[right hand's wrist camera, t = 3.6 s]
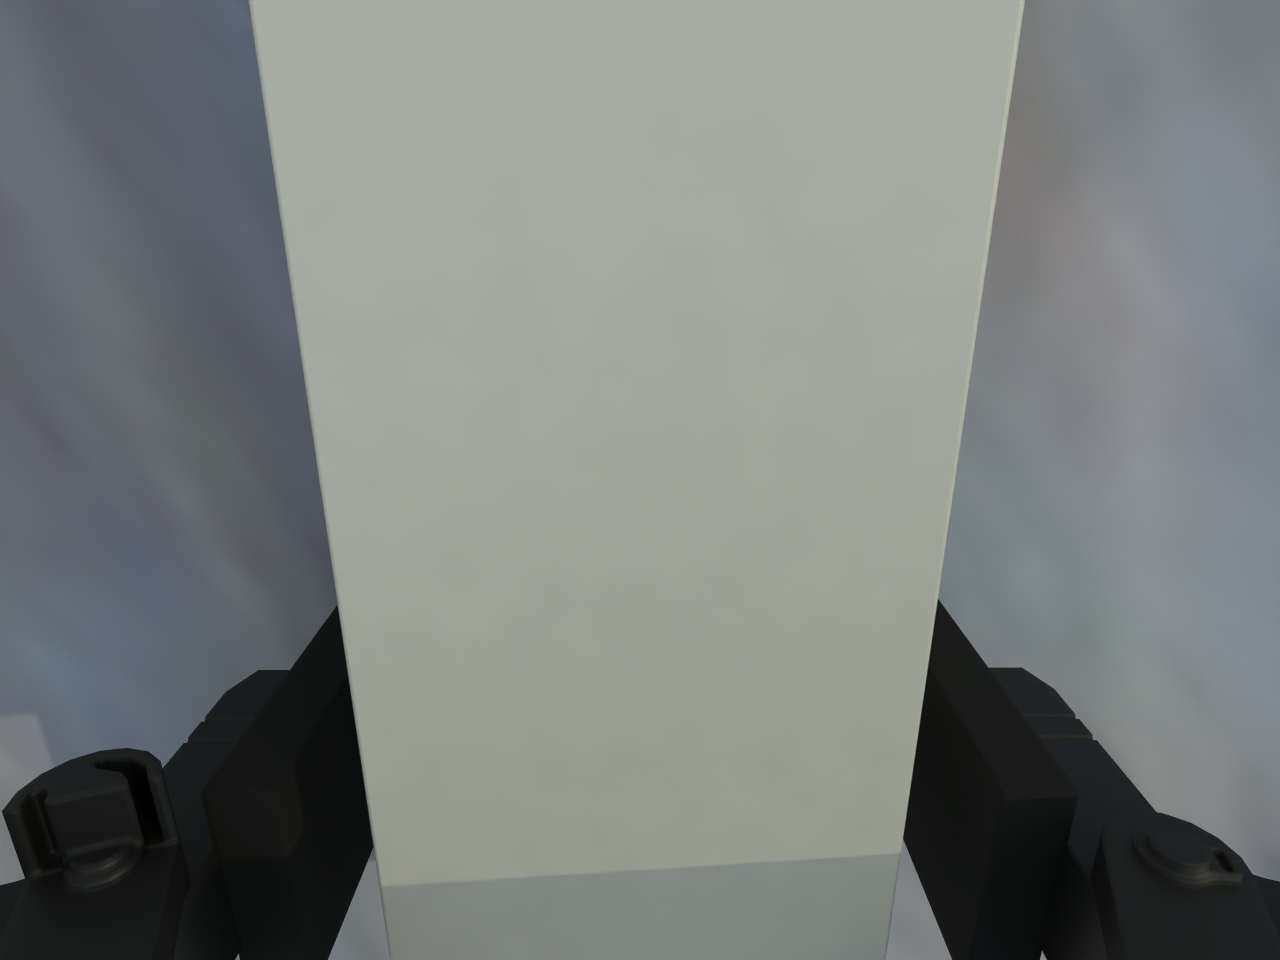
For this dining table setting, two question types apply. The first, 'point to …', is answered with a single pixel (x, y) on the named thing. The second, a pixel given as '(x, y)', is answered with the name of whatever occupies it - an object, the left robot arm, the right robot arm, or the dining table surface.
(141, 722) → the dining table surface
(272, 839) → the right robot arm
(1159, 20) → the dining table surface
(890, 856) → the bar
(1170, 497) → the dining table surface
